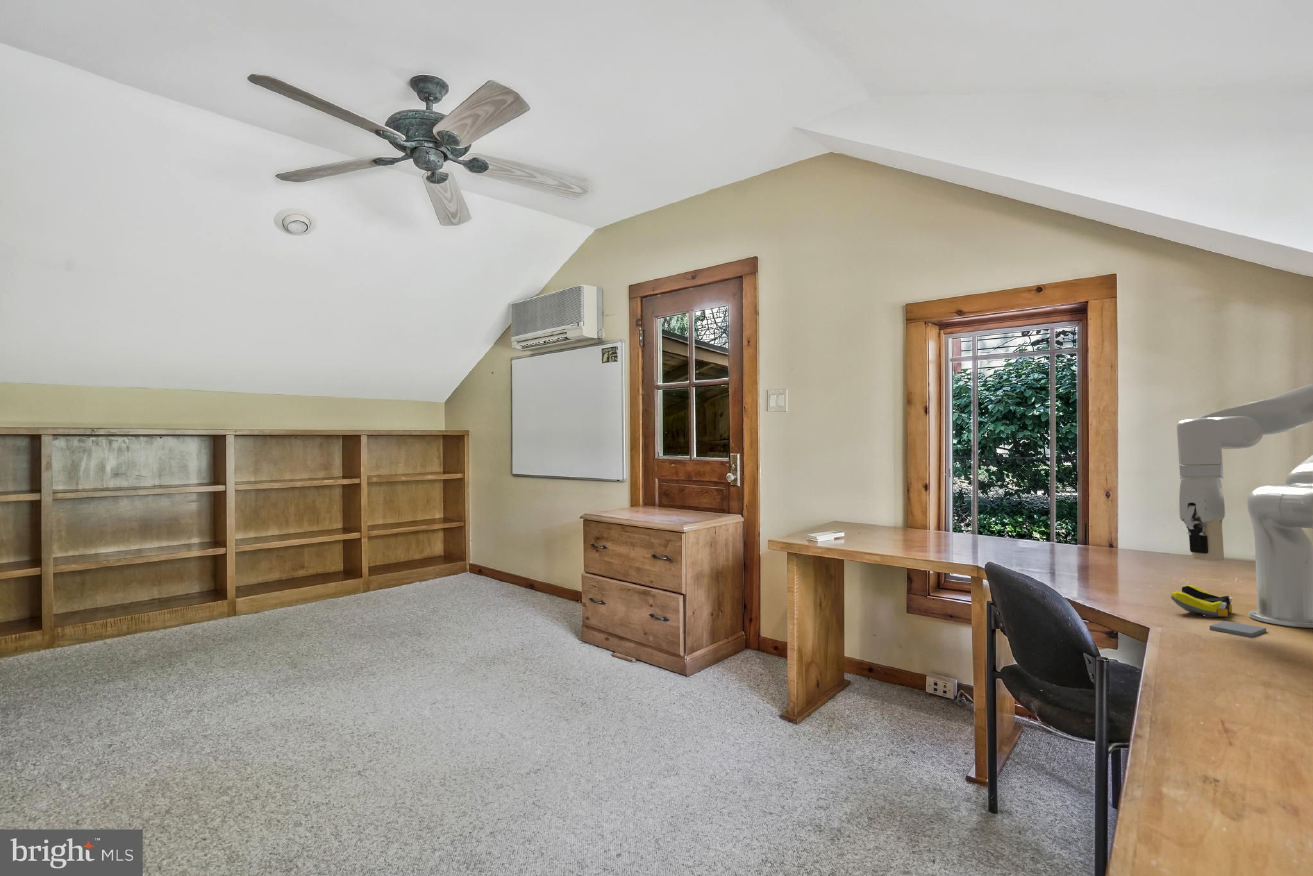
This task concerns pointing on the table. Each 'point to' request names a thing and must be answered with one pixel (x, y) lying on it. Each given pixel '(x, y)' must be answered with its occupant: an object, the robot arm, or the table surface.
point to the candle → (1212, 542)
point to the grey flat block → (1238, 628)
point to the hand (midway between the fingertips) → (1206, 550)
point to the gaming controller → (1202, 602)
